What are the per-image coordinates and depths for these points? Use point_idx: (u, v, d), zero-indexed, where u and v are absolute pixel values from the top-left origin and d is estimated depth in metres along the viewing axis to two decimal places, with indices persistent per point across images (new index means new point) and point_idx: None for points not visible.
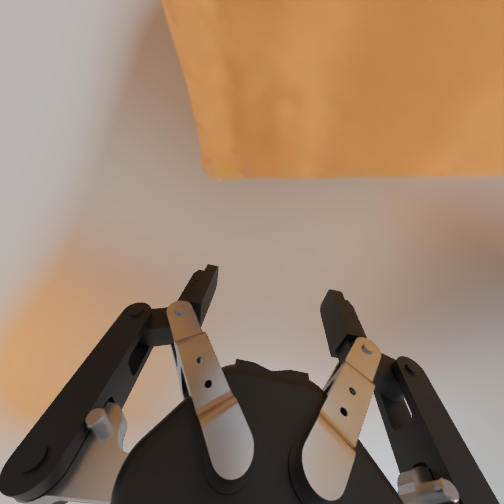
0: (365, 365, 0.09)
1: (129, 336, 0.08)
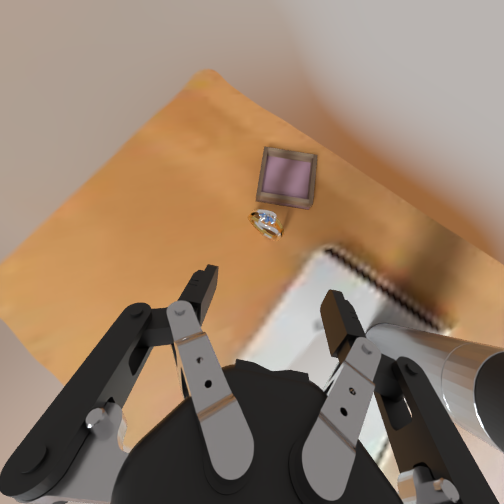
0: (365, 365, 0.09)
1: (129, 336, 0.08)
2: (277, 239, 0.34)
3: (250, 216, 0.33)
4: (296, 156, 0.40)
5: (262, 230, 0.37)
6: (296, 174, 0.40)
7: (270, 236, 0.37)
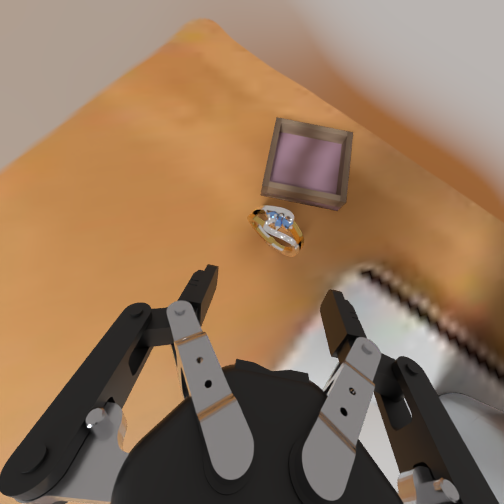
0: (365, 365, 0.09)
1: (129, 336, 0.08)
2: (292, 254, 0.22)
3: (251, 216, 0.21)
4: (322, 132, 0.27)
5: (269, 238, 0.25)
6: (320, 160, 0.28)
7: (280, 247, 0.24)
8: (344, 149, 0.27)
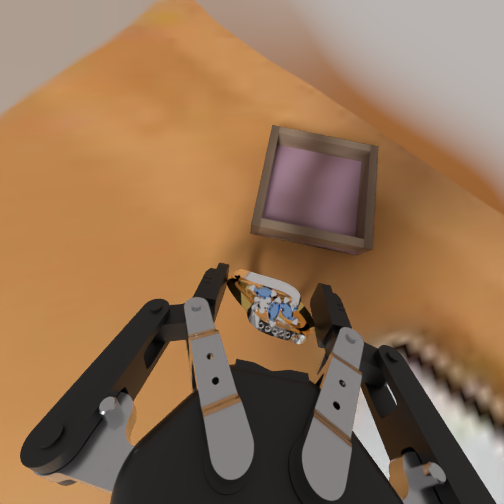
0: (350, 354, 0.09)
1: (146, 330, 0.08)
2: None
3: (231, 286, 0.13)
4: (336, 146, 0.20)
5: None
6: (332, 184, 0.20)
7: (278, 316, 0.17)
8: (366, 170, 0.19)
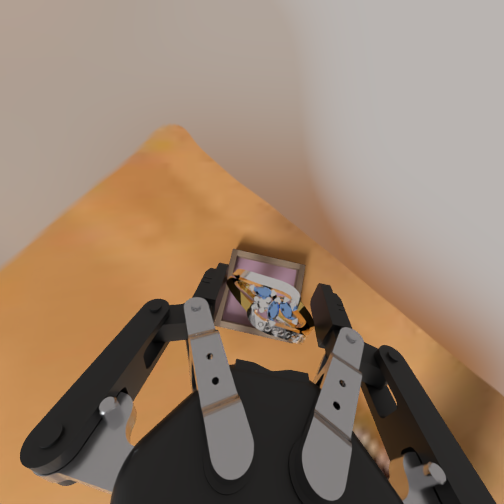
0: (350, 355, 0.09)
1: (146, 330, 0.08)
2: None
3: (231, 286, 0.13)
4: (276, 264, 0.29)
5: None
6: None
7: (278, 316, 0.17)
8: (296, 282, 0.28)
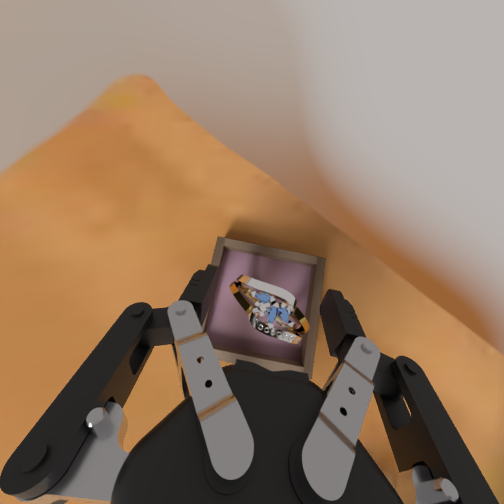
0: (364, 364, 0.09)
1: (130, 336, 0.08)
2: None
3: (234, 290, 0.14)
4: (283, 258, 0.19)
5: (261, 302, 0.19)
6: None
7: (276, 317, 0.18)
8: (312, 283, 0.19)
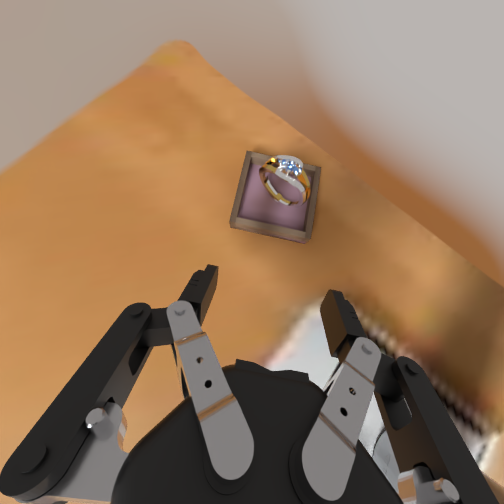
0: (365, 365, 0.09)
1: (129, 336, 0.08)
2: (299, 204, 0.24)
3: (264, 166, 0.23)
4: None
5: (276, 194, 0.27)
6: (289, 193, 0.28)
7: (287, 203, 0.27)
8: (312, 184, 0.28)
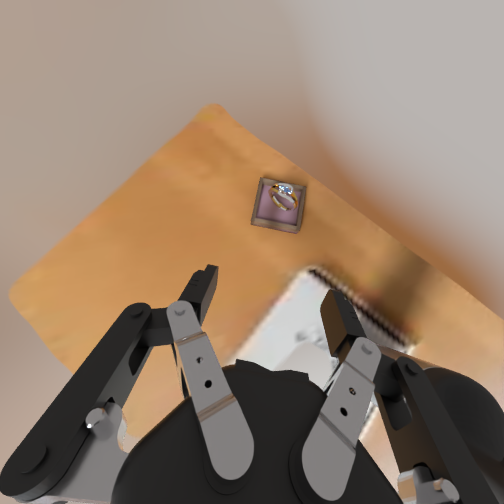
0: (365, 365, 0.09)
1: (129, 336, 0.08)
2: (292, 210, 0.42)
3: (271, 188, 0.40)
4: None
5: (279, 204, 0.45)
6: (287, 202, 0.46)
7: (285, 209, 0.44)
8: (300, 197, 0.45)
